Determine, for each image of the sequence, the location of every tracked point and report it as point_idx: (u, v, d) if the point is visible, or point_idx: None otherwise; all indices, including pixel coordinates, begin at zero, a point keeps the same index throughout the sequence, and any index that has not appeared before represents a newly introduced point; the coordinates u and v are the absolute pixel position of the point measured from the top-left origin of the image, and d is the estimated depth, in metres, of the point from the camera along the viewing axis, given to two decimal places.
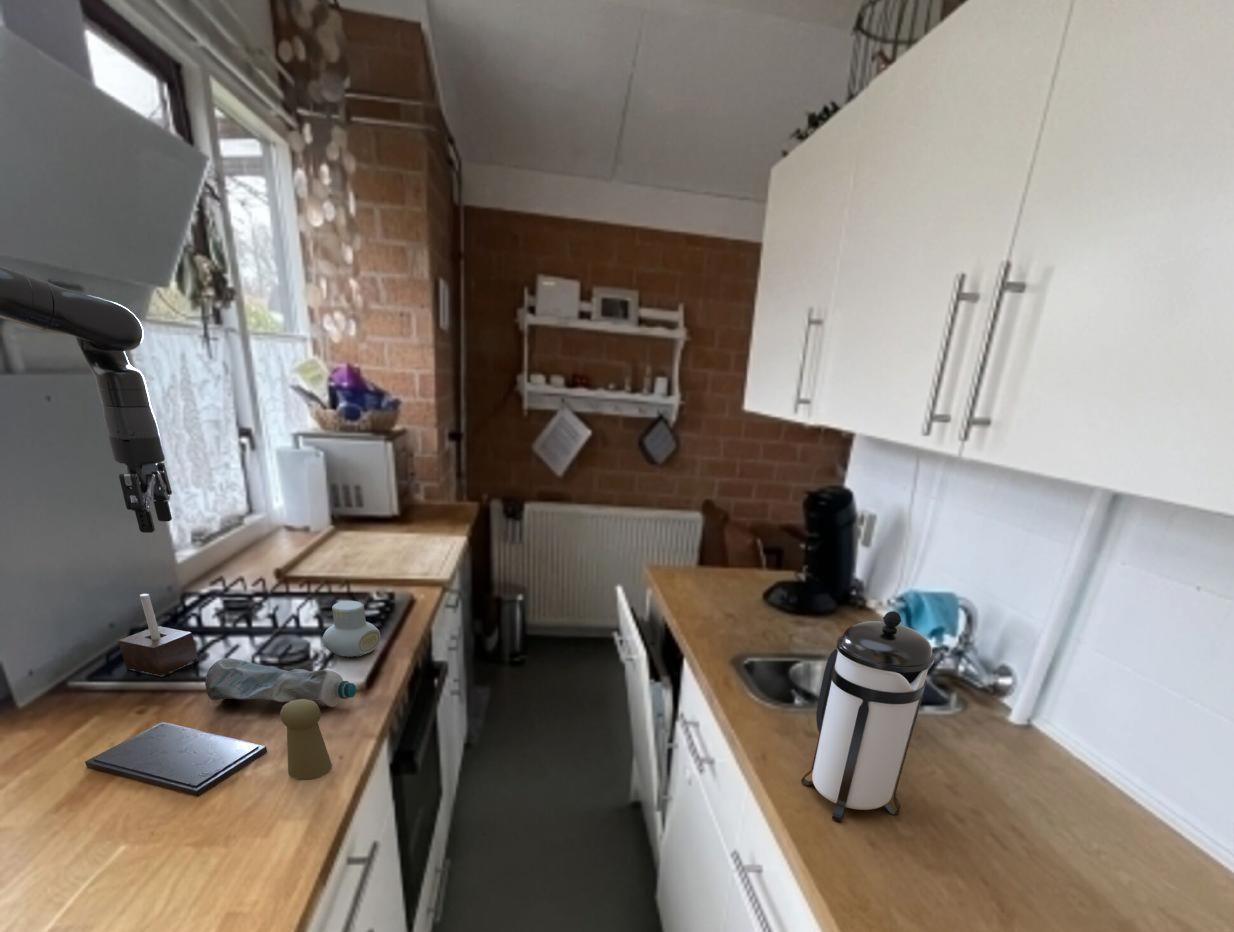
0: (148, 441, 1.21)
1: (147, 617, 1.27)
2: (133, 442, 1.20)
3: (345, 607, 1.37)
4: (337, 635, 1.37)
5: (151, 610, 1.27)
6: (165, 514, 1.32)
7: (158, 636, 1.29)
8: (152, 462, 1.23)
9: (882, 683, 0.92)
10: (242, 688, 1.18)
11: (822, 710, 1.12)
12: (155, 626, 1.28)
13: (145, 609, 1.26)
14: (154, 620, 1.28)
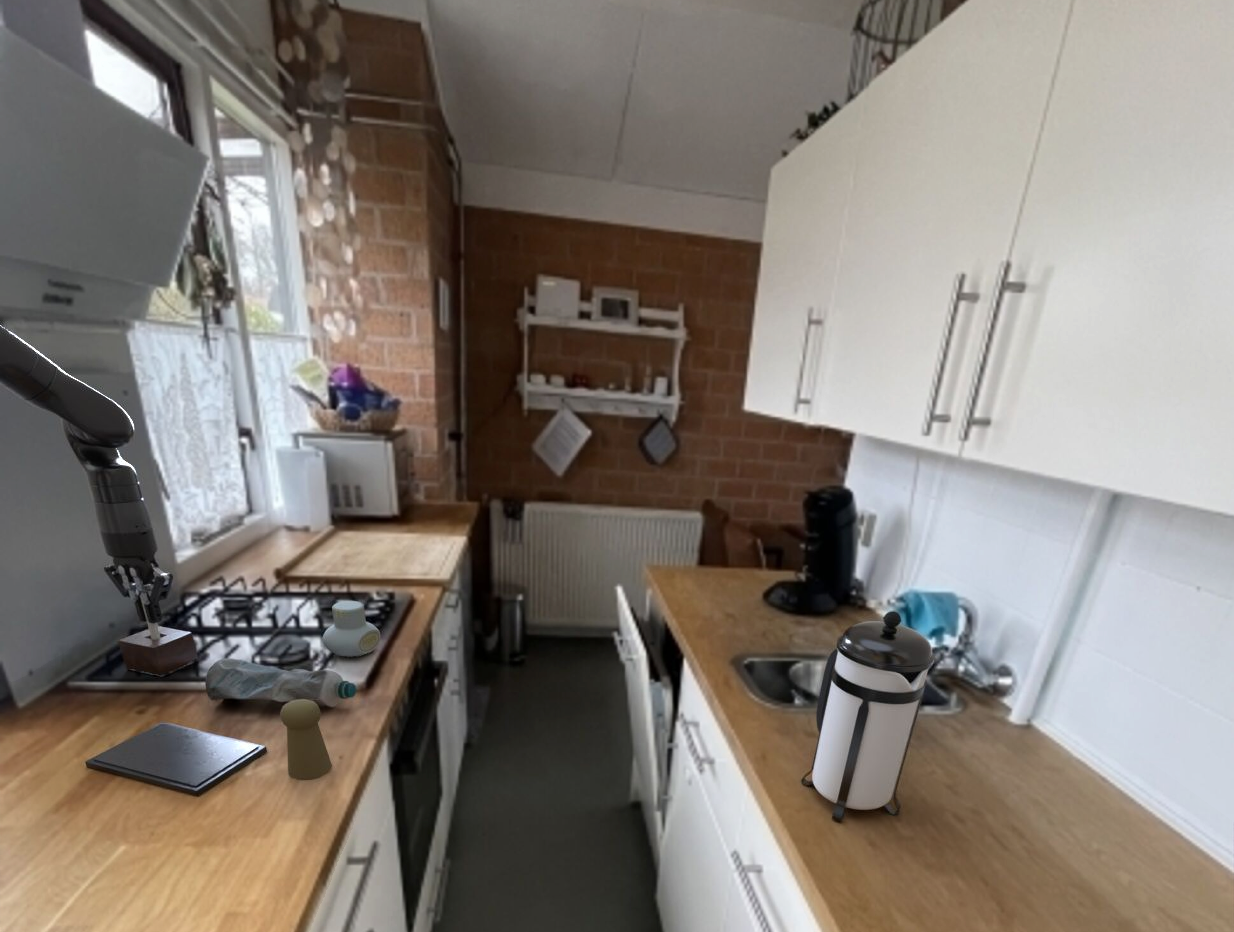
0: (152, 529, 1.22)
1: None
2: (149, 533, 1.21)
3: (345, 607, 1.37)
4: (337, 635, 1.37)
5: None
6: None
7: (158, 636, 1.29)
8: (157, 549, 1.24)
9: (882, 683, 0.92)
10: (242, 688, 1.18)
11: (822, 710, 1.12)
12: (155, 626, 1.28)
13: None
14: None
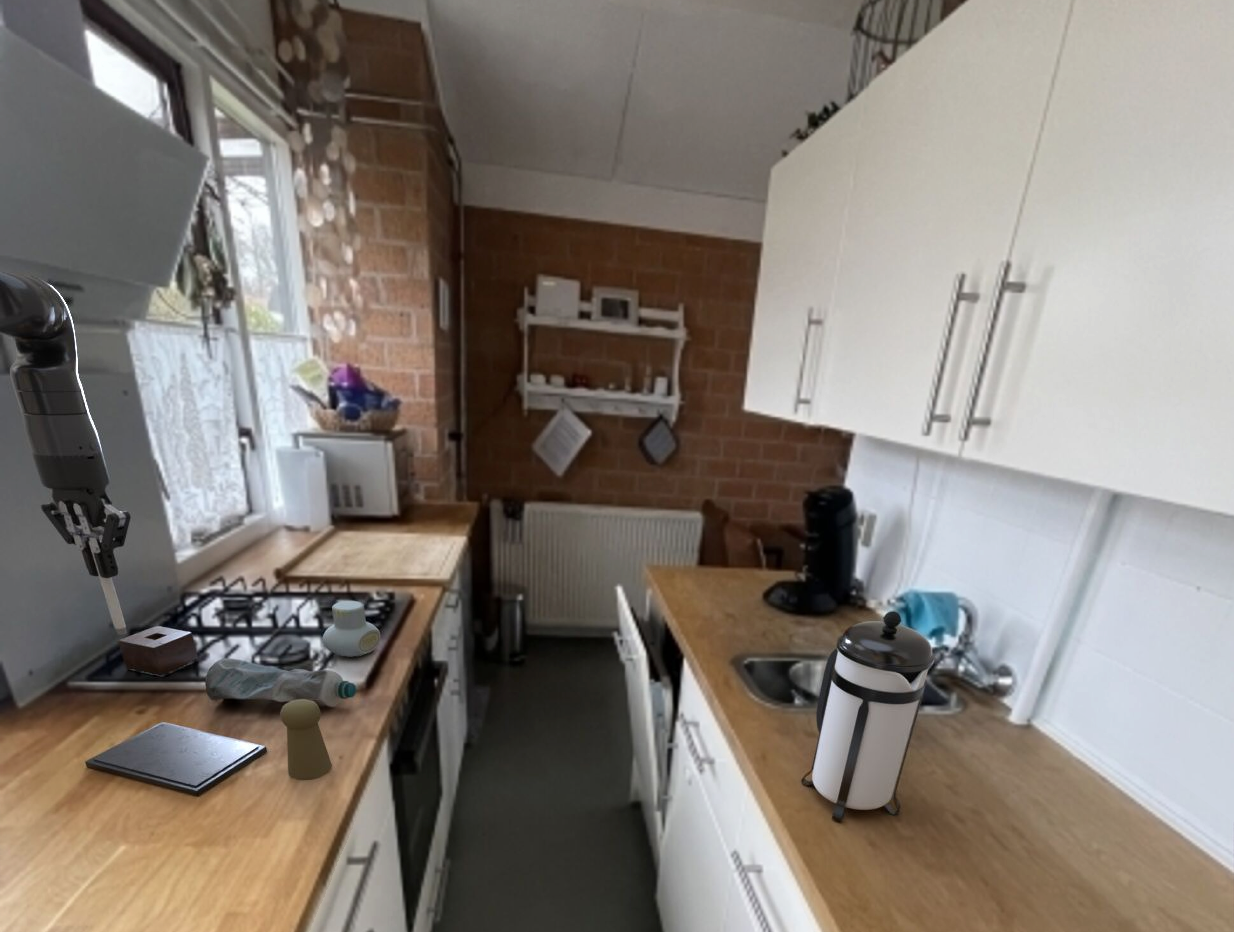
0: None
1: None
2: (97, 458, 0.93)
3: (345, 607, 1.37)
4: (337, 635, 1.37)
5: None
6: None
7: (114, 595, 1.02)
8: None
9: (882, 683, 0.92)
10: (242, 688, 1.18)
11: (822, 710, 1.12)
12: (110, 582, 1.01)
13: None
14: None
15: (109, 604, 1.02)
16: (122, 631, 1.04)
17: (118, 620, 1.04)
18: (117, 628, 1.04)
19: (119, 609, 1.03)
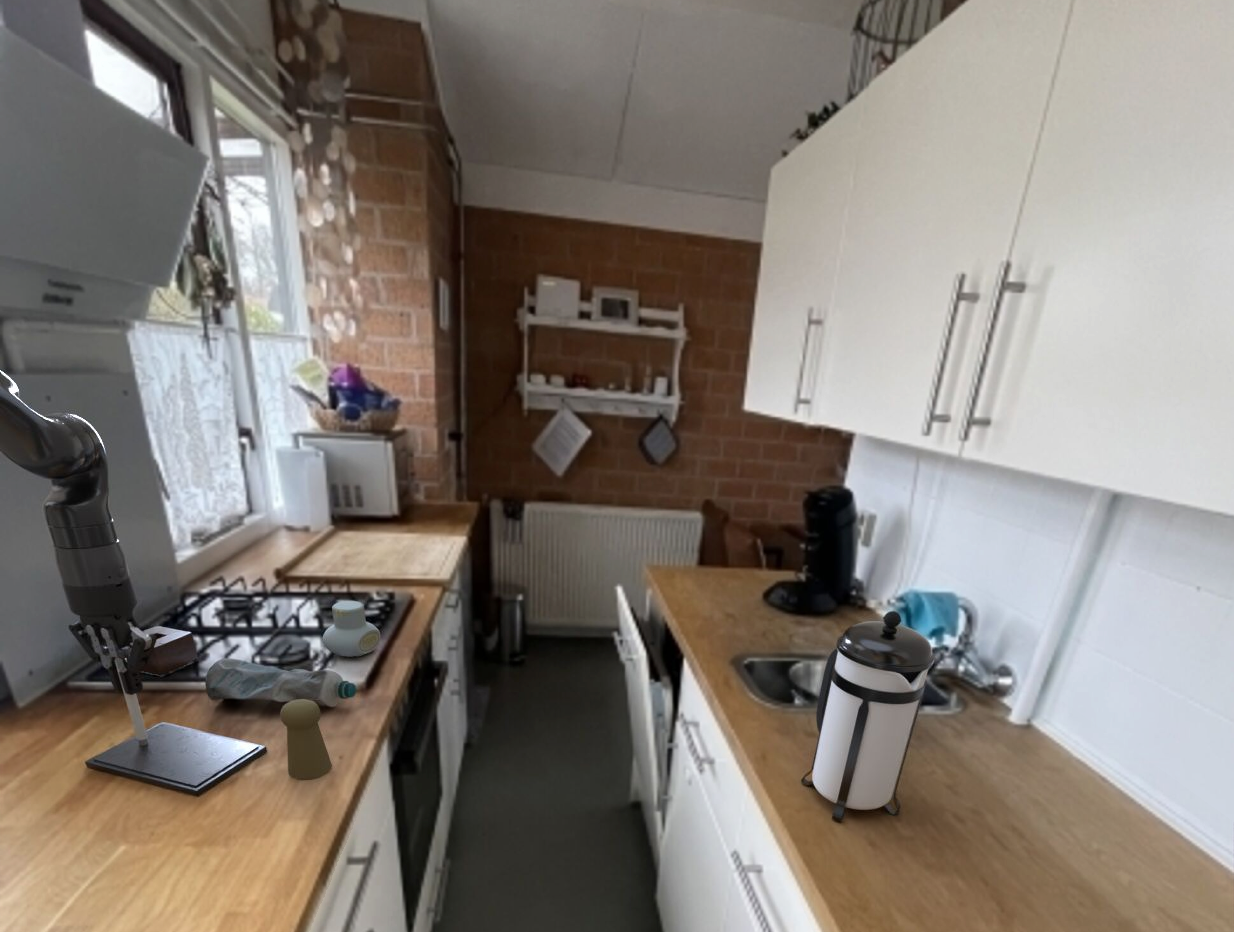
0: None
1: None
2: (125, 584, 0.94)
3: (345, 607, 1.37)
4: (337, 635, 1.37)
5: None
6: None
7: (137, 709, 1.03)
8: None
9: (882, 683, 0.92)
10: (242, 688, 1.18)
11: (822, 710, 1.12)
12: (134, 697, 1.02)
13: None
14: None
15: (132, 717, 1.03)
16: (144, 742, 1.05)
17: (140, 732, 1.04)
18: (139, 739, 1.05)
19: (142, 721, 1.04)
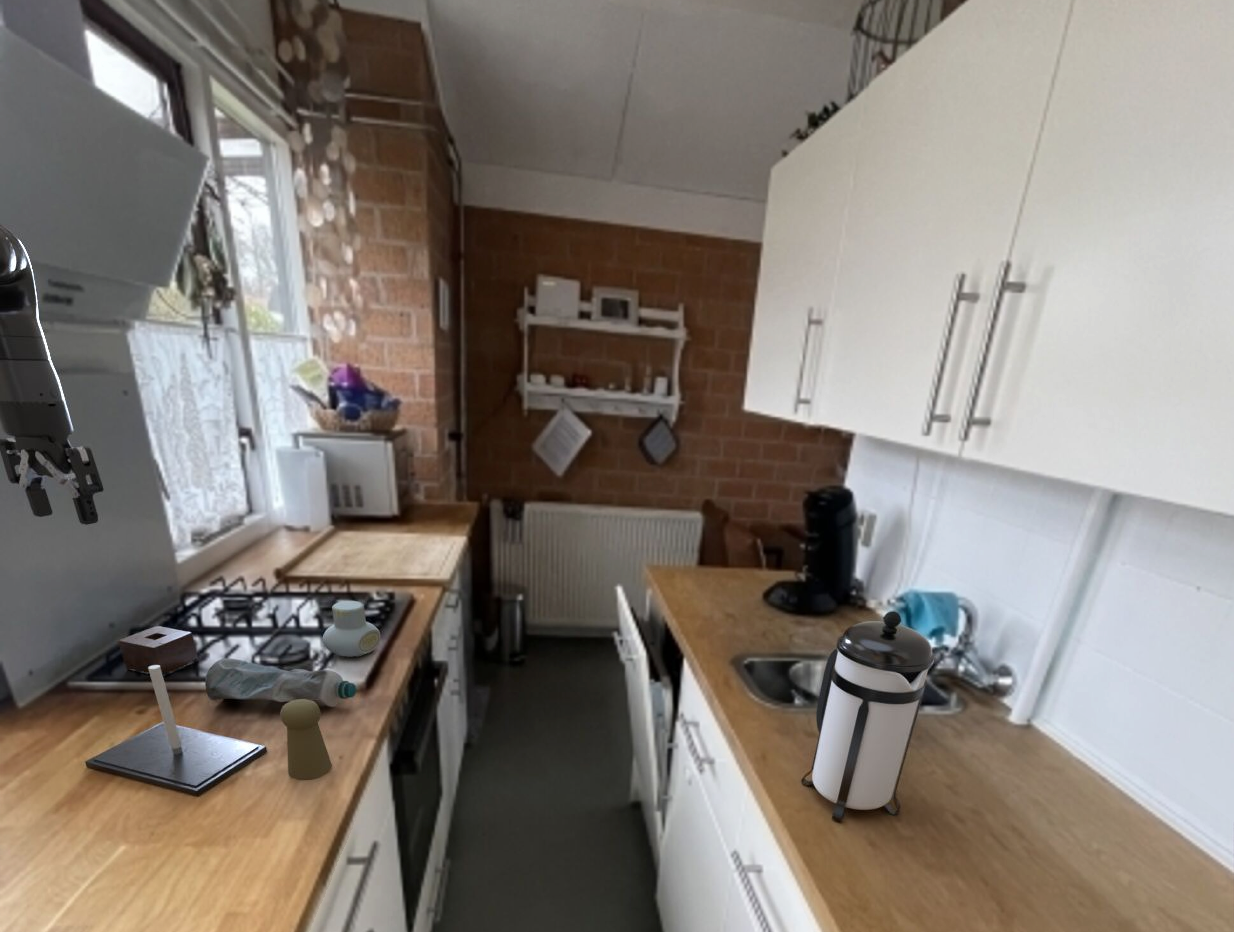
0: None
1: (157, 694, 0.99)
2: (59, 406, 0.93)
3: (345, 607, 1.37)
4: (337, 635, 1.37)
5: (163, 686, 0.99)
6: (45, 506, 1.01)
7: (171, 717, 1.01)
8: (72, 431, 0.97)
9: (882, 683, 0.92)
10: (242, 688, 1.18)
11: (822, 710, 1.12)
12: (168, 705, 1.00)
13: (155, 685, 0.98)
14: (166, 698, 1.00)
15: (166, 726, 1.02)
16: (178, 750, 1.04)
17: (174, 740, 1.03)
18: (173, 748, 1.03)
19: (176, 730, 1.03)
